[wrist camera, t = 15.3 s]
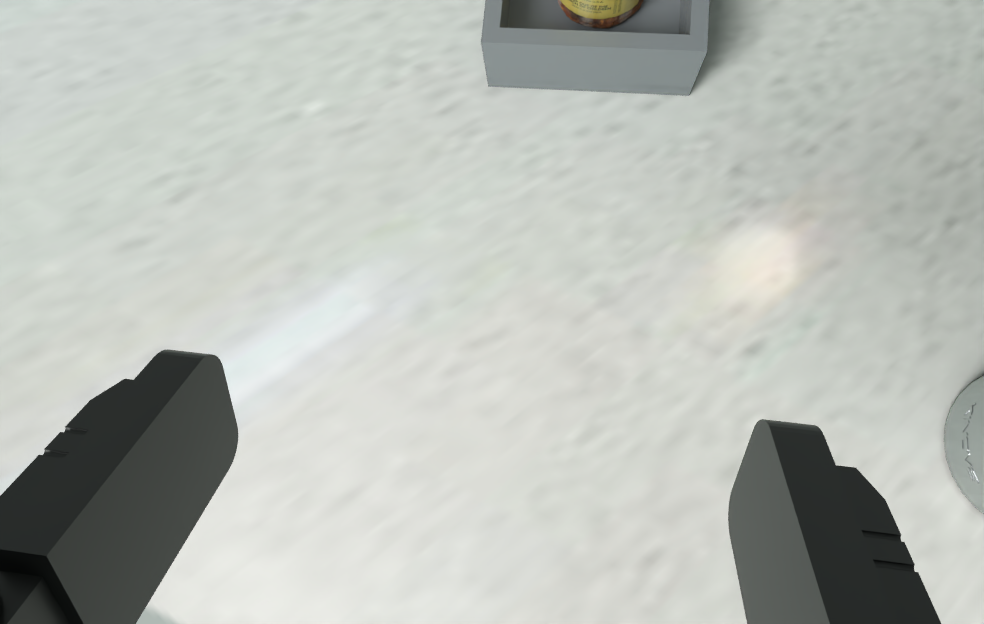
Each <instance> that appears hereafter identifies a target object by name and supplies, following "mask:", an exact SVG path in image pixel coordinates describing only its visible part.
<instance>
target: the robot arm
mask: <svg viewBox="0 0 984 624" xmlns="http://www.w3.org/2000/svg"><path fill="white" fill-rule="evenodd" d="M65 428H66V429H65V432H64V433H63V432H60V433H59V434H58V435H57V436H56V437H55V438H54V439H53V440H52V442H51V443H50V444H49V445H48V446H47V447H46V448H45V452H44V454H43V455H38V456H37V458H36V459H35V460H34V461H33V462H32V463H31V464H30V465H29V466H28V467H27V468H26V469H25V470H24V471H23V472H22V473H21V475H20V476H19V477H18V478H17V479H16V480H15V481H14V482H13V483H12V484H11V485H10V486H9V487H8V488H7V489H6V491H5V492H4V493H3V494H2V495H1V496H0V624H136V622H137V620H138V619H139V617H140V616H141V614H142V612H143V611H144V609H145V607H146V606H147V604H148V602H149V601H150V599H151V597H152V596H153V594H154V592H155V591H156V589H157V587H158V586H159V584H160V583H161V581H162V579H163V578H164V576H165V574H166V573H167V571H168V569H169V568H170V566H171V564H172V563H173V561H174V559H175V558H176V556H177V554H178V553H179V551H180V549H181V548H182V546H183V544H184V543H185V541H186V540H187V538H188V536H189V535H190V533H191V531H192V530H193V528H194V526H195V525H196V523H197V521H198V520H199V518H200V516H201V515H202V513H203V511H204V510H205V508H206V506H207V505H208V503H209V501H210V500H211V498H212V497H213V495H214V493H215V492H216V490H217V488H218V487H219V485H220V483H221V482H222V480H223V478H224V477H225V475H226V473H227V472H228V470H229V468H230V466H231V464H232V462H233V460H234V457H235V453H236V449H237V444H238V427H237V423H236V419H235V415H234V410H233V406H232V402H231V398H230V394H229V390H228V386H227V382H226V378H225V374H224V370H223V366H222V363H221V361H220V359H219V358H218V357H217V356H215V355H211V354H202V353H193V352H184V351H176V350H163V351H161V352H159V353H158V354H157V355H156V356H155V357H154V358H153V359H152V360H151V361H150V362H149V363H148V364H147V366H146V367H145V368H144V369H143V370H142V371H141V372H140V373H139V375H138V376H137V377H136V378H135V379H134V380H130V379H124V380H122V381H121V382H119V383H117V384H116V385H114V386H112V387H111V388H109V389H108V390H106V391H104V392H103V393H101V394H100V395H98V396H96V397H95V398H93V399H91V400H90V401H89V402H88V403H87V404H86V405H85V406H84V407H83V409H82V410H81V411H80V412H79V413H78V414H77V415H76V416H75V417H74V418H73V419H72V420H71V421H70V422H69V423H68V425H67V426H66V427H65ZM944 445H945V453H946V460H947V462H948V465H949V468H950V471H951V474H952V476H953V478H954V480H955V482H956V483H957V485H958V487H959V488H960V490H961V492H962V493H963V494H964V495H965V497H966V498H967V499H968V500H969V501H970V502H971V503H972V504H973V506H974V507H975V508H977V509H978V510H979V511H980V512H982V513H983V514H984V376H982V377H980V378H979V379H977V380H975V381H974V382H972V383H971V384H970V385H969V386H968V387H967V388H966V389H965V390H964V391H963V392H962V393H960V394H959V396H958V398H957V399H956V401H955V402H954V404H953V406H952V407H951V409H950V412H949V415H948V418H947V421H946V424H945V436H944ZM728 521H729V533H730V539H731V544H732V549H733V554H734V559H735V564H736V569H737V574H738V579H739V584H740V589H741V594H742V599H743V604H744V609H745V614H746V619H747V624H941V622H940V620H939V618H938V615H937V613H936V611H935V609H934V607H933V604H932V602H931V600H930V598H929V596H928V593H927V591H926V589H925V587H924V585H923V582H922V580H921V578H920V576H919V573H918V572H915V571H914V562H913V560H912V558H911V556H910V554H909V551H908V549H907V547H906V545H905V543H904V542H901V539H900V537H901V534H900V531H899V529H898V527H897V525H896V523H895V520H894V518H893V516H892V514H891V512H890V509H889V507H888V505H887V503H886V501H885V499H884V498H883V497H882V496H881V495H880V494H879V493H878V491H877V490H876V489H875V488H874V487H873V486H872V485H871V484H870V483H869V482H868V481H867V479H866V478H865V477H864V476H863V475H862V474H861V473H860V472H859V471H858V470H857V469H856V468H853V467H845V466H836V465H835V462H834V460H833V457H832V455H831V452H830V450H829V447H828V445H827V442H826V440H825V437H824V435H823V433H822V431H821V430H820V428H819V427H817V426H815V425H807V424H798V423H790V422H781V421H772V420H763V419H762V420H759V421H758V422H757V424H756V425H755V427H754V430H753V432H752V435H751V438H750V441H749V443H748V446H747V449H746V452H745V455H744V457H743V460H742V463H741V466H740V469H739V471H738V474H737V477H736V480H735V483H734V485H733V488H732V491H731V496H730V501H729V513H728Z"/></svg>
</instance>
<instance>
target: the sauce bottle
mask: <svg viewBox="0 0 984 624" xmlns="http://www.w3.org/2000/svg"><path fill="white" fill-rule="evenodd" d="M642 2H643V0H558V3H559V5H560V7H561V8H562V10H563V11H564V12H565V14H566V16H567V17H569V18H570V19H571V20H572V21H574V22H576V23H578V24H581V25H583V26H587V27H592V28H595V29H596V28H602V29H605V28H611V27H613V26H615V25H618V24H620V23H622V22H623V21H625V20H626V19H628V18H629V17H630V16H631V15H633V14H634V13H635V12H636V11H637V10H639V8H640V6H641V4H642Z"/></svg>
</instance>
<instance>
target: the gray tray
mask: <svg viewBox="0 0 984 624" xmlns="http://www.w3.org/2000/svg"><path fill="white" fill-rule="evenodd" d="M708 22H709V0H643V2H642V4H641V6H640V8H639V10H637V11H636V12H635V13H634V14H633V15H631V16H630V17H629V18H628V19H626V20H625V21H623V22H622V23H620V24H618V25H615V26H613V27H611V28H605V29H602V28H596V29H595V28H592V27H587V26H583V25H581V24H578V23H576V22H574V21H572V20H571V19H570V18H569V17H567V16H566V14H565V12H564V11H563V10H562V8H561V7H560V5H559V3H558V0H486V1H485V11H484V20H483V29H482V38H481V45H482V51H483V57H484V63H485V69H486V75H487V81H488V86H494V87H515V88H536V89H558V90H579V91H601V92H622V93H644V94H665V95H687V96H689V94H690V92H691V89H692V87H693V84H694V82H695V80H696V77H697V75H698V72H699V70H700V68H701V65H702V63H703V60H704V58H705V56H706V53H707V46H708Z"/></svg>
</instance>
